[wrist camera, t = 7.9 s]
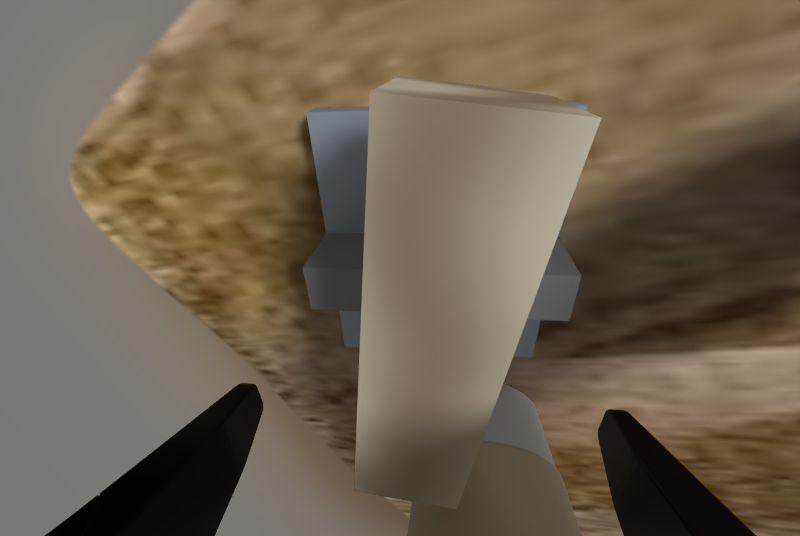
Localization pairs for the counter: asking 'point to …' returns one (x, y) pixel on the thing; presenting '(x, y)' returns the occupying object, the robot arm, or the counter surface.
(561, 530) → the coffee cup
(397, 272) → the ash bar
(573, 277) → the ridge stand
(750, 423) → the counter surface
